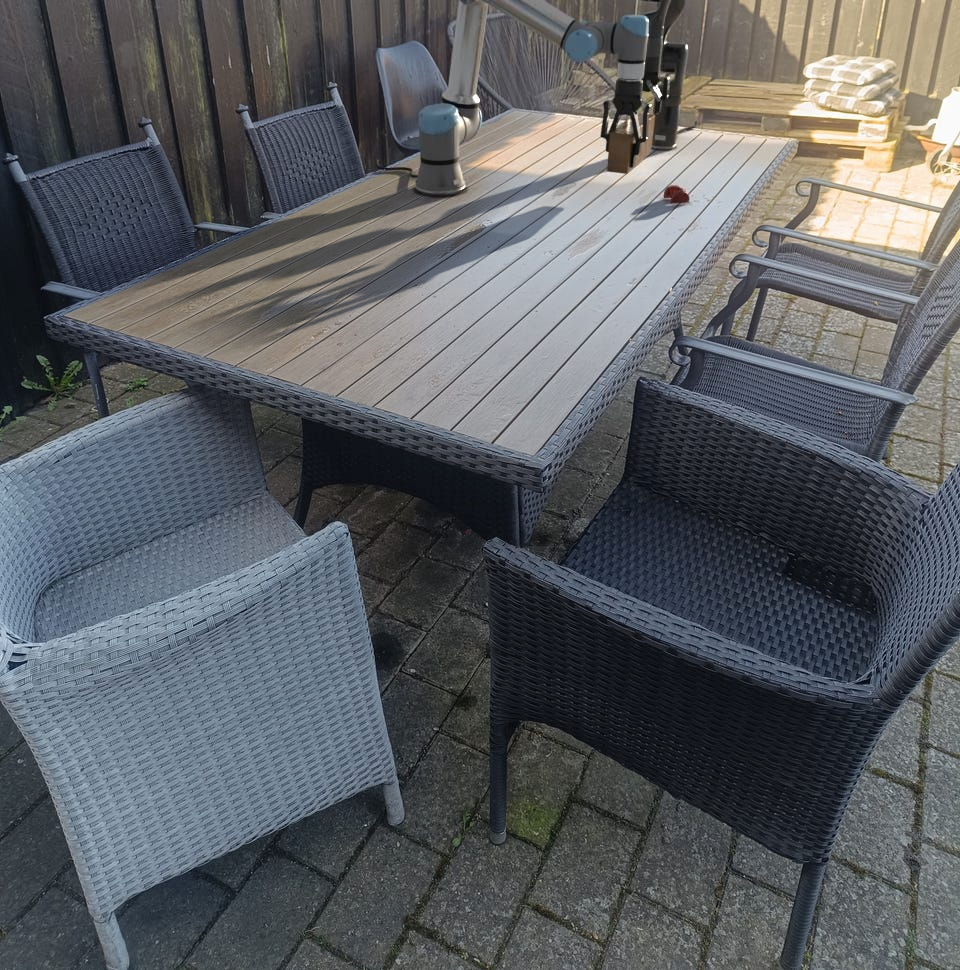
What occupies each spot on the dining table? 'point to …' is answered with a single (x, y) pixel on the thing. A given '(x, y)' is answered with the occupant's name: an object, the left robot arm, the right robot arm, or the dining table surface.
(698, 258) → the dining table surface
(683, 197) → the dental model
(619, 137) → the box
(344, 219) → the dining table surface
